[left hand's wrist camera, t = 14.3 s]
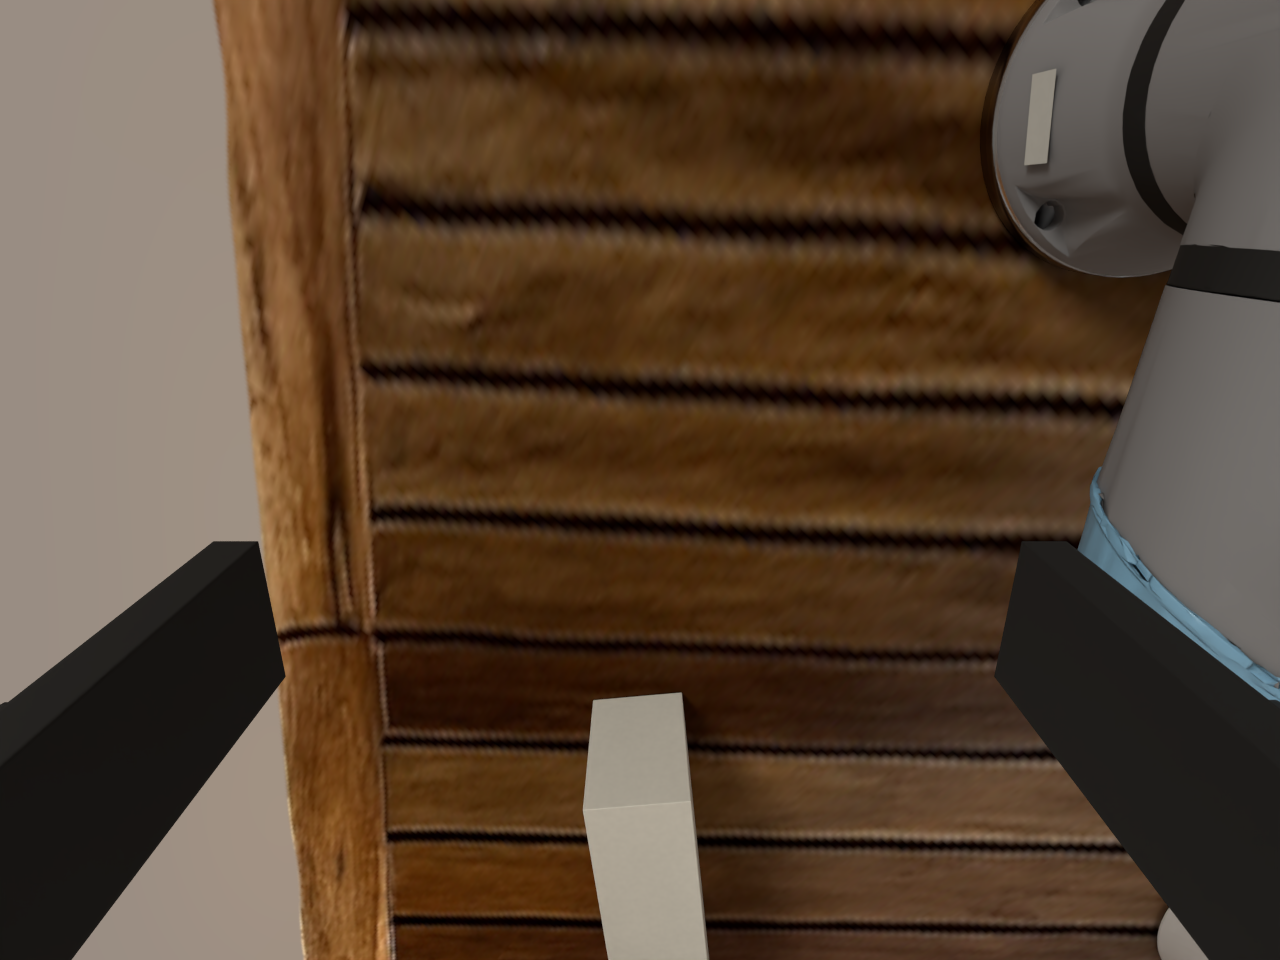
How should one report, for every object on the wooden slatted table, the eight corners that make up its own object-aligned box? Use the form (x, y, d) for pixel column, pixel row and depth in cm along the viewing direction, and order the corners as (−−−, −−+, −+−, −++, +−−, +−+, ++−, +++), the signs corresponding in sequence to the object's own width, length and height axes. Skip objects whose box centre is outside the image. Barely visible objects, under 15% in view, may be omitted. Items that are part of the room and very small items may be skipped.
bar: (593, 699, 48) (582, 810, 39) (681, 692, 48) (691, 801, 39) (633, 960, 57) (632, 1098, 48) (708, 954, 57) (721, 1092, 48)
